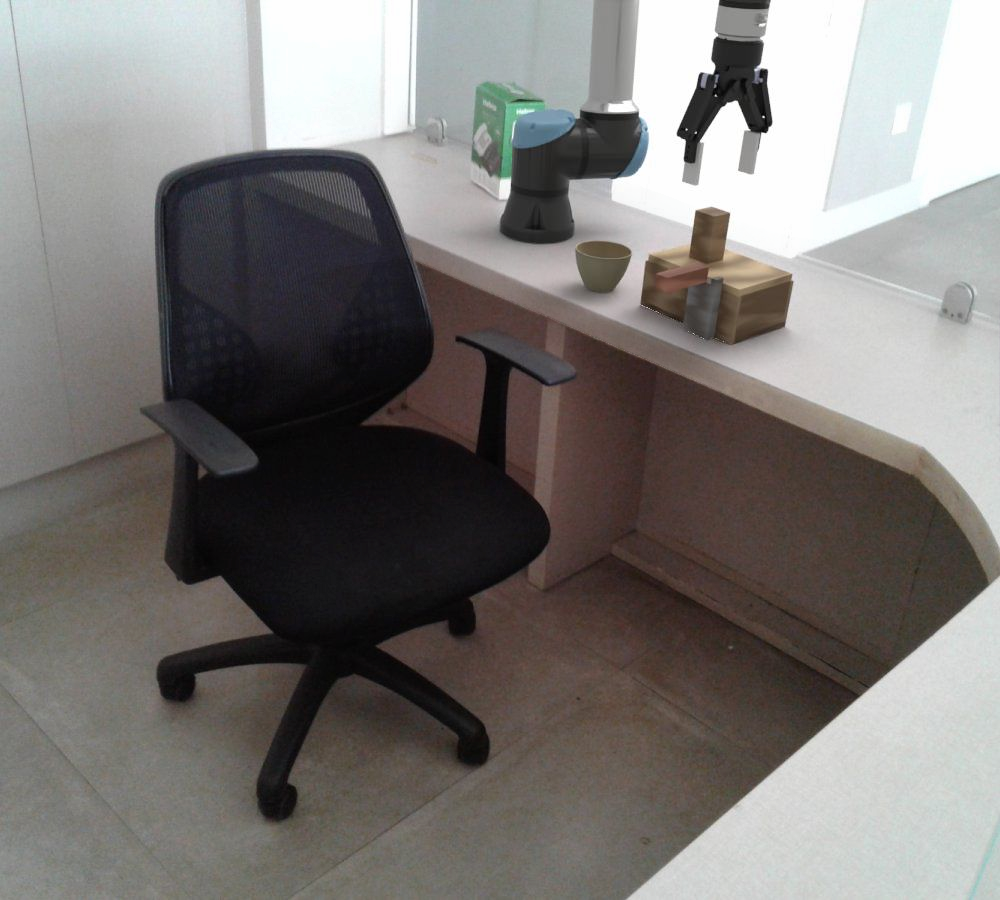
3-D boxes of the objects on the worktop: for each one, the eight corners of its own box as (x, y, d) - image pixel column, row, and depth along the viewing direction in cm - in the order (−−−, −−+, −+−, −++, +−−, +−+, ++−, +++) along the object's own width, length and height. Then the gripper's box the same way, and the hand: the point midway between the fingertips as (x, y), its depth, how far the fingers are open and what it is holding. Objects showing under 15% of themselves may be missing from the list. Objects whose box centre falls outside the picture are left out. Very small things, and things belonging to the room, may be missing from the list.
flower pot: (619, 301, 181) (624, 262, 178) (564, 291, 184) (568, 252, 180) (634, 283, 189) (638, 245, 186) (581, 274, 192) (584, 236, 189)
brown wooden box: (632, 307, 179) (639, 249, 174) (694, 289, 188) (702, 234, 183) (722, 347, 166) (733, 286, 161) (784, 326, 175) (796, 268, 170)
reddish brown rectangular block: (654, 288, 160) (656, 273, 159) (695, 277, 166) (697, 262, 164) (665, 293, 159) (667, 277, 157) (706, 281, 164) (709, 266, 163)
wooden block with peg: (648, 260, 176) (654, 207, 172) (701, 247, 184) (708, 195, 179) (738, 296, 163) (747, 239, 159) (791, 280, 171) (801, 225, 166)
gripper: (703, 45, 148) (683, 194, 158) (810, 36, 162) (785, 173, 173) (664, 37, 153) (647, 182, 163) (771, 29, 167) (749, 163, 178)
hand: (718, 178), depth 168 cm, fingers open, 13 cm apart
